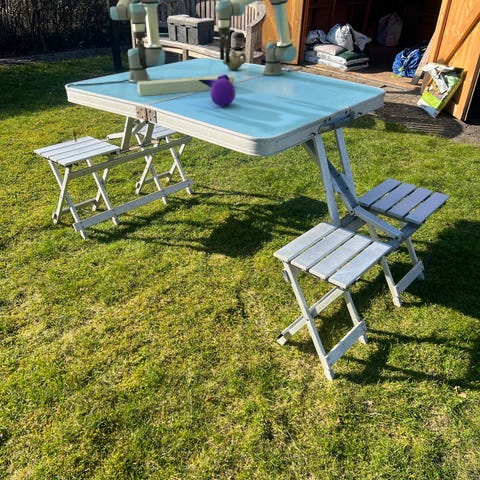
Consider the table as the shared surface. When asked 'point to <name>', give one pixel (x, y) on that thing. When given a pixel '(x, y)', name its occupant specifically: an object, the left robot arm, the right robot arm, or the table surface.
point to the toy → (221, 90)
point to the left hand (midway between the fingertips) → (143, 67)
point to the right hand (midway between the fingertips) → (225, 61)
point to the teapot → (235, 61)
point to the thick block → (176, 85)
